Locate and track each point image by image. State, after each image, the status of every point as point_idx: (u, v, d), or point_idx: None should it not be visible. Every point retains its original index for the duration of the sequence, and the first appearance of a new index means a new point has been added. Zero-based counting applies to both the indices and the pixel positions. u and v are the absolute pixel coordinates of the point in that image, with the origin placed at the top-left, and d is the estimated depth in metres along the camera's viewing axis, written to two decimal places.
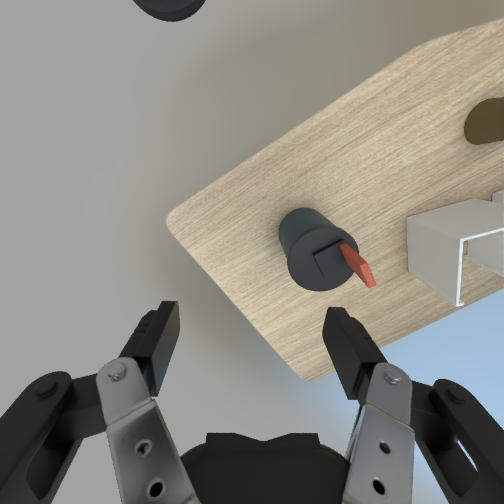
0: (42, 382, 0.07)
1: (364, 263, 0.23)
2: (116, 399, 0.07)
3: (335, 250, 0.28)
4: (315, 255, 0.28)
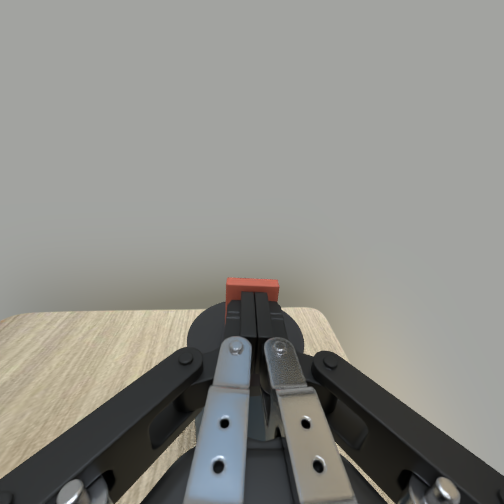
0: (185, 353, 0.08)
1: (278, 284, 0.13)
2: (247, 369, 0.08)
3: None
4: None
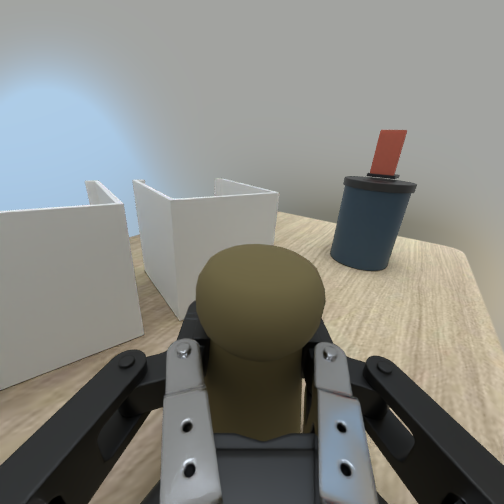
0: (125, 356, 0.08)
1: (406, 130, 0.29)
2: (189, 372, 0.08)
3: None
4: (398, 175, 0.34)
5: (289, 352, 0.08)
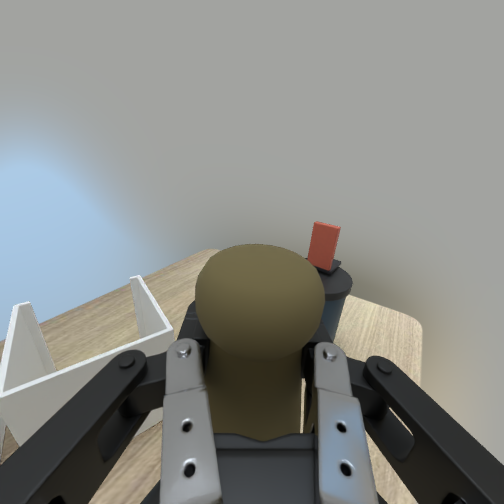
0: (125, 356, 0.08)
1: (339, 228, 0.27)
2: (189, 372, 0.08)
3: None
4: (340, 261, 0.31)
5: (289, 352, 0.08)
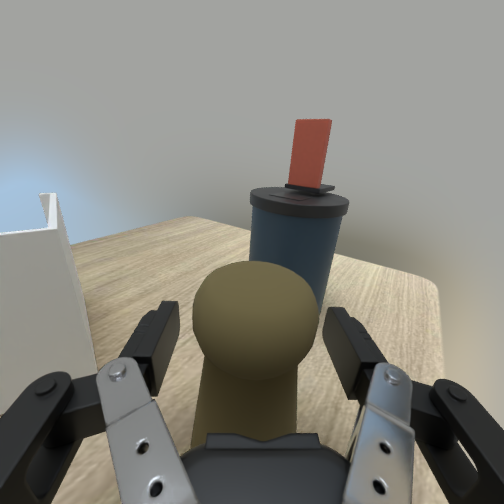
0: (42, 382, 0.07)
1: (329, 120, 0.19)
2: (116, 399, 0.07)
3: None
4: (333, 186, 0.24)
5: (283, 372, 0.08)
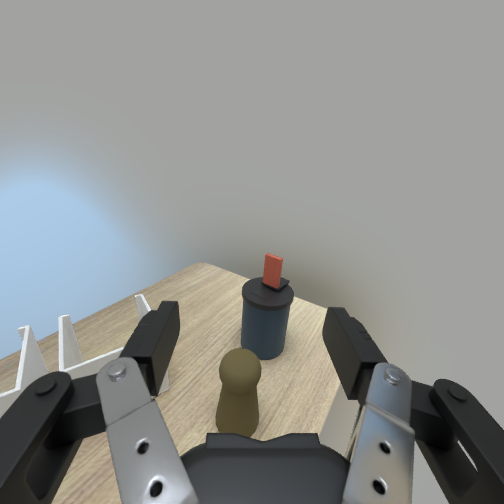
0: (42, 382, 0.07)
1: (281, 259, 0.38)
2: (116, 399, 0.07)
3: (279, 284, 0.41)
4: (288, 281, 0.42)
5: (247, 391, 0.27)
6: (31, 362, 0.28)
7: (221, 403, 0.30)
